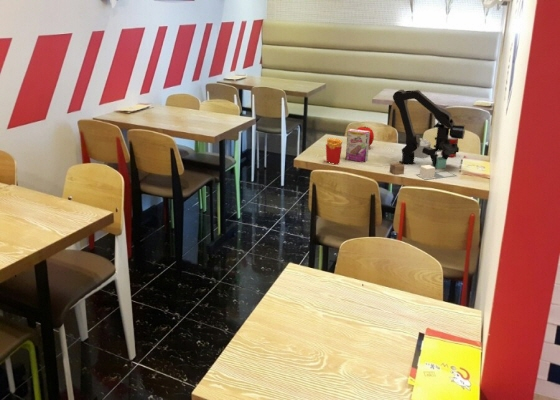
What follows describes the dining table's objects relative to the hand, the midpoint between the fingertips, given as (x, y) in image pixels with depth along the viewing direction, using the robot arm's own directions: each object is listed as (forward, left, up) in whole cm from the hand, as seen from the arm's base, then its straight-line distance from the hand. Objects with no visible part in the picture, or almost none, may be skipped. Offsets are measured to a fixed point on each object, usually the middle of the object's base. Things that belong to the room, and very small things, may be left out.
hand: (438, 165), depth 279 cm
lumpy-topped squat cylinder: (-24, +5, -2) cm, 25 cm away
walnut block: (+1, -26, -1) cm, 26 cm away
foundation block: (+11, -15, -1) cm, 19 cm away
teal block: (0, 0, -1) cm, 1 cm away
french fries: (-26, -48, -1) cm, 55 cm away
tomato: (-46, -19, -1) cm, 50 cm away
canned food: (-17, +19, -2) cm, 26 cm away
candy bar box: (-26, -34, -2) cm, 43 cm away
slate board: (+11, -9, -1) cm, 15 cm away
